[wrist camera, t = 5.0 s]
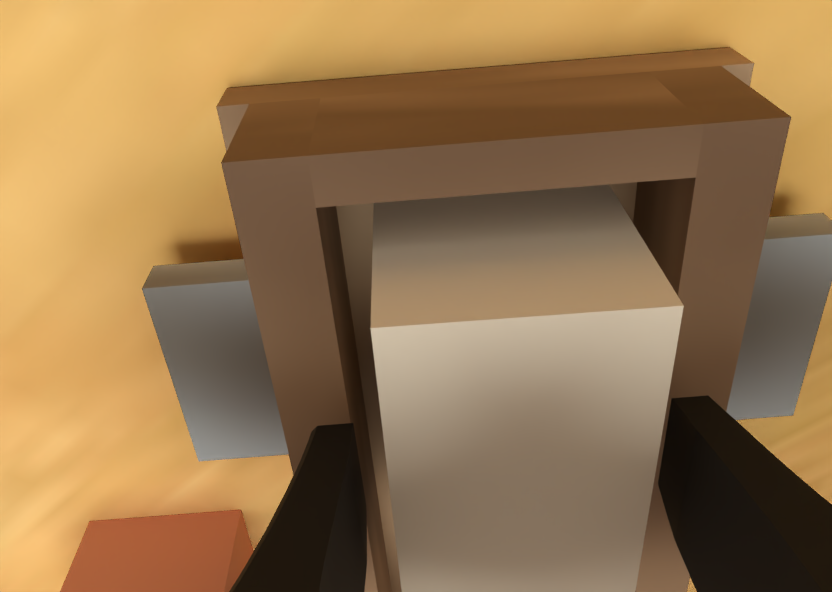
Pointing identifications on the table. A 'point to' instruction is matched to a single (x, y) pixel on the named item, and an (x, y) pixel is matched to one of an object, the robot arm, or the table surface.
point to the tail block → (161, 554)
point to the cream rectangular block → (520, 388)
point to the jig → (475, 175)
